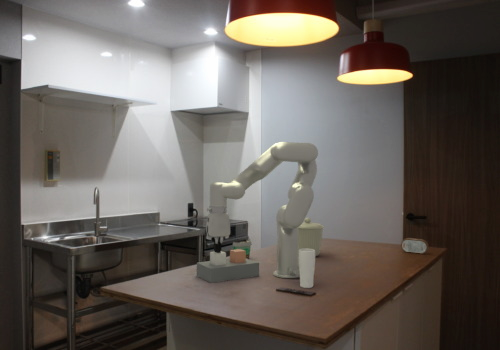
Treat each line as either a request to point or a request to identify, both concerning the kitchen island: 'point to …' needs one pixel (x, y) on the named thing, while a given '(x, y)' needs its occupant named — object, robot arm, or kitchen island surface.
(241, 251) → the terracotta brown block
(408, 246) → the tin
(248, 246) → the food container
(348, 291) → the kitchen island surface
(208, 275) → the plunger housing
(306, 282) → the drinking glass
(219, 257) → the cream cube block
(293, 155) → the robot arm
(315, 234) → the canister
